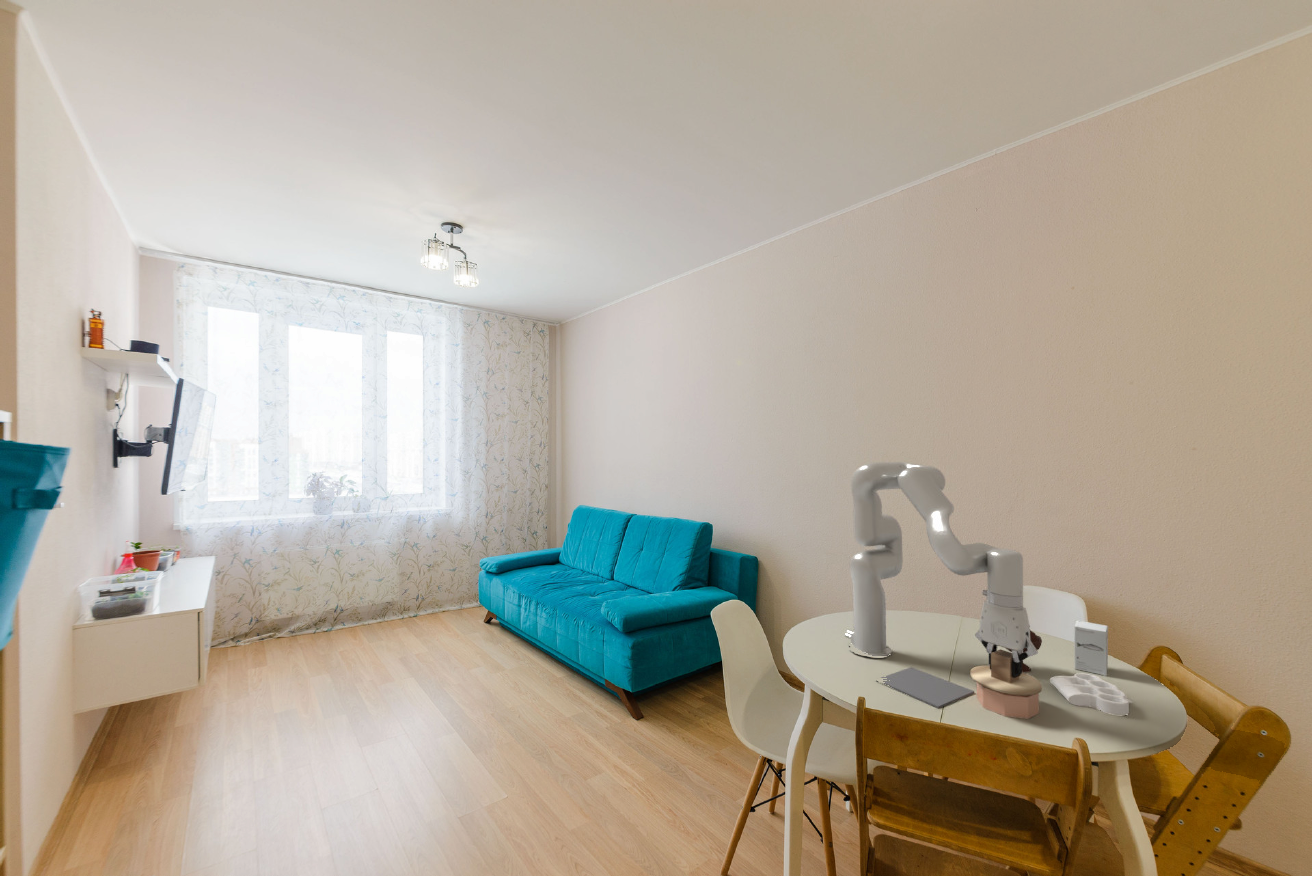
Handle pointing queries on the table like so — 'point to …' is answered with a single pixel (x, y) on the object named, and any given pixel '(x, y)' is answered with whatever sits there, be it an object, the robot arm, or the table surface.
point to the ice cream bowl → (1036, 642)
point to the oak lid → (1004, 676)
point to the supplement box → (1091, 647)
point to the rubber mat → (926, 687)
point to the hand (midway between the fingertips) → (1005, 671)
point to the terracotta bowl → (1008, 703)
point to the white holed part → (1092, 693)
